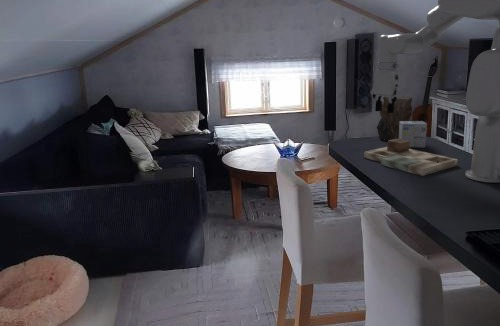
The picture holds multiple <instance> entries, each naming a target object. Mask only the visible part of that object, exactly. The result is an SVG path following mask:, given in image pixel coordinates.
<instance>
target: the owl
mask: <svg viewBox="0 0 500 326" xmlns="http://www.w3.org/2000/svg"><path fill="white" fill-rule="evenodd" d="M382 98H383V99H382V100H383V101H382V110H381V111H379V115H380V119H379V120H378V124H377V126H376V129H377V134H378V139H379V138H380V139H379V140H382V139H385V140H384V141H386V140H393V139H398V137H399V121H410V118H411V116H412V112H413V105H412V102H413V98H412V97H404V96H403V95H402V96H401V97H400V98H399V99H398V100H397V101H396V103H394V112H393V113H387V109H388V103H389V99H388V96H382Z"/></svg>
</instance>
